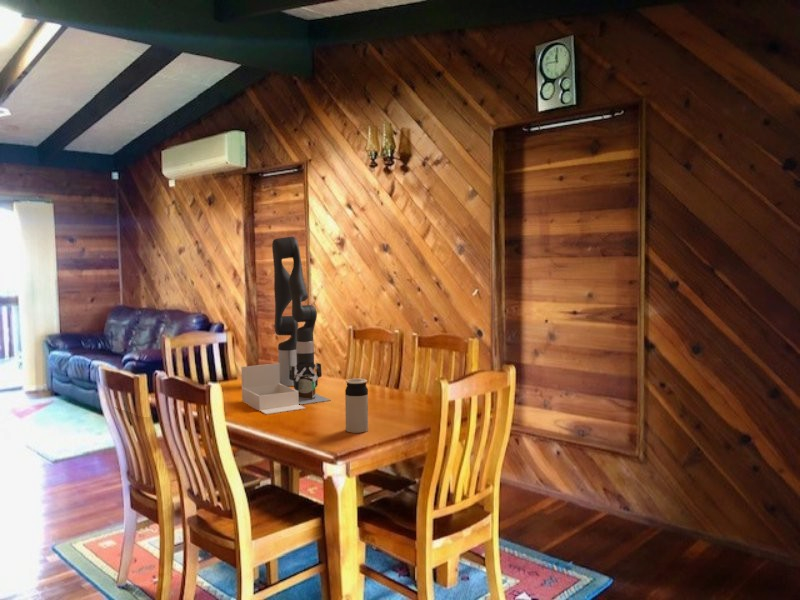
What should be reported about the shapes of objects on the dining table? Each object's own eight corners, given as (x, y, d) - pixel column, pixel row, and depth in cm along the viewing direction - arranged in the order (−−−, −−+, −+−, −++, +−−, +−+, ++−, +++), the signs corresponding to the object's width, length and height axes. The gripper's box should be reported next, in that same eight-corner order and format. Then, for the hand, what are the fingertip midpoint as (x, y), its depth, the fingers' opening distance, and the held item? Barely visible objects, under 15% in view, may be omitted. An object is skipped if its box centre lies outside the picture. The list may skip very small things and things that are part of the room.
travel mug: (344, 433, 225) (344, 382, 224) (346, 427, 233) (346, 378, 232) (367, 433, 225) (367, 382, 224) (368, 427, 233) (368, 378, 232)
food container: (324, 395, 281) (322, 373, 279) (315, 400, 276) (313, 377, 274) (302, 392, 288) (300, 370, 286) (293, 396, 283) (291, 374, 281)
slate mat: (310, 392, 293) (310, 391, 293) (330, 400, 276) (330, 399, 276) (281, 396, 285) (281, 395, 285) (300, 405, 268) (300, 404, 268)
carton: (279, 396, 285) (278, 363, 284) (305, 408, 262) (305, 372, 261) (242, 401, 275) (241, 367, 274) (266, 414, 253) (265, 376, 252)
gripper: (316, 348, 286) (316, 385, 287) (286, 351, 278) (287, 388, 280) (323, 351, 280) (324, 387, 281) (293, 353, 272) (294, 391, 273)
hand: (305, 388), depth 280 cm, fingers open, 8 cm apart
